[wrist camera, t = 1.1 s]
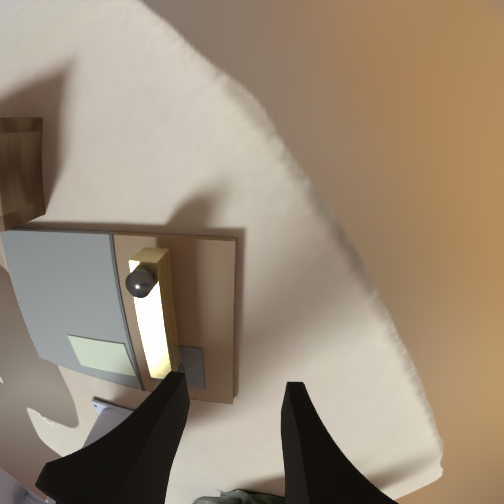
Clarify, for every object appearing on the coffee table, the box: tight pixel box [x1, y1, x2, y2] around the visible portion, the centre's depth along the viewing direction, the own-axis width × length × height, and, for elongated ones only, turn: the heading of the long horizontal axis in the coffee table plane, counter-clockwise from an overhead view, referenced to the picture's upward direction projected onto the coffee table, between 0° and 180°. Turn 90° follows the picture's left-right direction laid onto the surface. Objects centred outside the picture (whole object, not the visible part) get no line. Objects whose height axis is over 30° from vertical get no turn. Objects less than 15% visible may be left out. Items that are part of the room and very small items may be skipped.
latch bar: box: [125, 247, 181, 379], centre depth 17 cm, size 10×2×3 cm, turn 177°
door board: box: [1, 228, 237, 404], centre depth 19 cm, size 16×24×4 cm, turn 87°
